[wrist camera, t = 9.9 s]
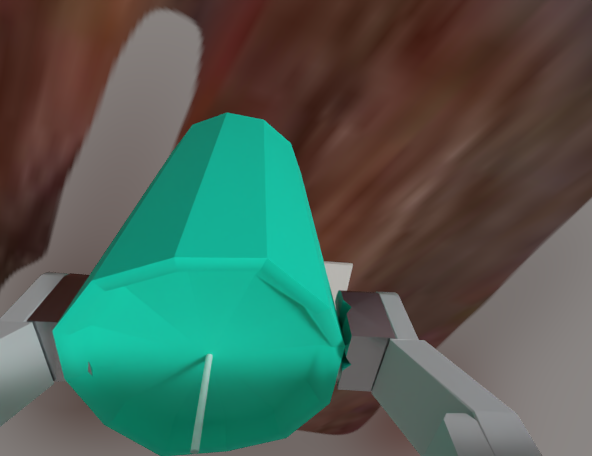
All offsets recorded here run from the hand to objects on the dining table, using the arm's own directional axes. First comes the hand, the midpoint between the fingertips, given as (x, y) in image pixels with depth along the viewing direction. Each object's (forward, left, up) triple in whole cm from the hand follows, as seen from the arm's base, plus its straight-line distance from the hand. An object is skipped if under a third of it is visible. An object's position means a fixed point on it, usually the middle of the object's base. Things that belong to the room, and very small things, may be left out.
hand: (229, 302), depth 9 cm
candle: (-1, 0, -9) cm, 9 cm away
